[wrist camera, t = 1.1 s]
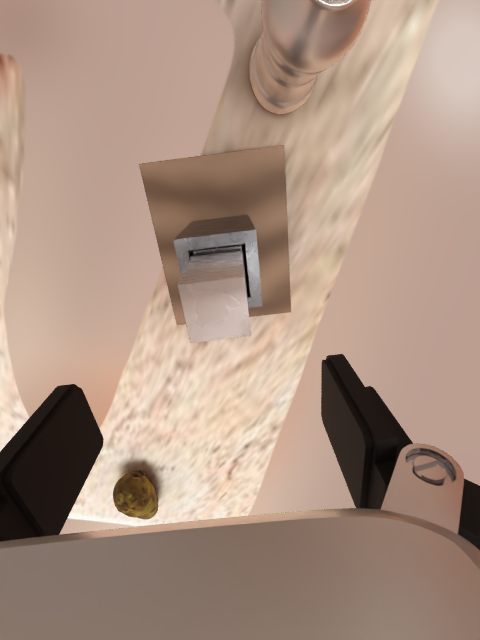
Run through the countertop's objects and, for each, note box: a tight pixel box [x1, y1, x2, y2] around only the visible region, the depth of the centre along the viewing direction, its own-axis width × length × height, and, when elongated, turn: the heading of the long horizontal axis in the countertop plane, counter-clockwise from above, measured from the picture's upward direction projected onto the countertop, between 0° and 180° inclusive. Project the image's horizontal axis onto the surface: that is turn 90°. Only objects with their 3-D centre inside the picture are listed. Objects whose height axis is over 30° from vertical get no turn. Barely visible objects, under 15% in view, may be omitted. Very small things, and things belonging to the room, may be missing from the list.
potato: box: [113, 471, 158, 519], centre depth 53 cm, size 8×13×8 cm, turn 165°
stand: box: [139, 145, 291, 325], centre depth 31 cm, size 20×16×14 cm
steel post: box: [178, 244, 251, 343], centre depth 27 cm, size 4×4×20 cm
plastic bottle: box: [249, 0, 371, 114], centre depth 21 cm, size 6×7×20 cm
